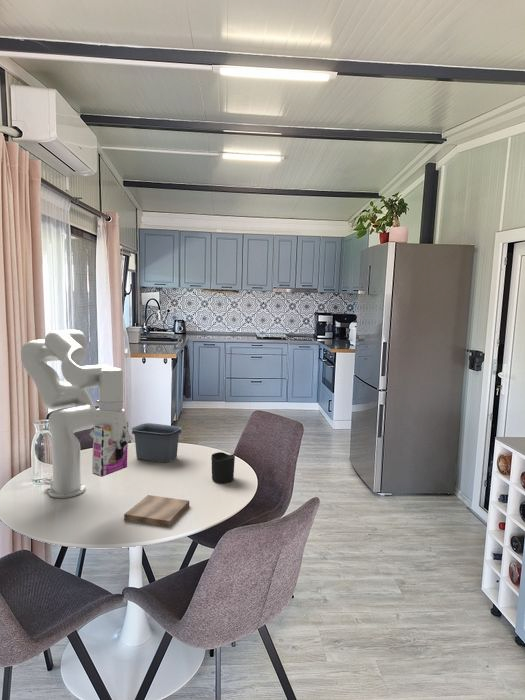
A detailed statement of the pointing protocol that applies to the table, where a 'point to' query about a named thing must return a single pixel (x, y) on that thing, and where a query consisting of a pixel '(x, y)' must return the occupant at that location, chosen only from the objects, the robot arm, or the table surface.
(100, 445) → the candy bar box
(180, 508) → the walnut board
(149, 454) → the storage bin
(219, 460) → the pen holder
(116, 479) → the table surface
